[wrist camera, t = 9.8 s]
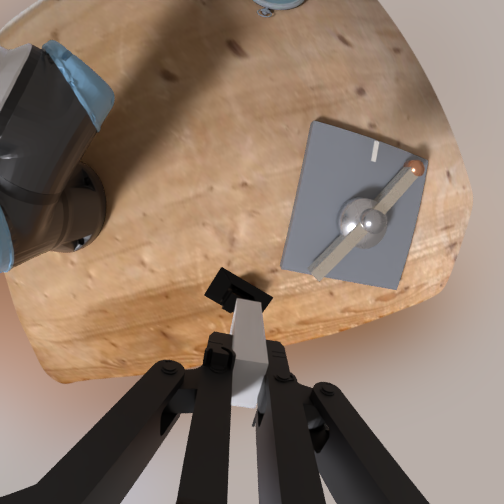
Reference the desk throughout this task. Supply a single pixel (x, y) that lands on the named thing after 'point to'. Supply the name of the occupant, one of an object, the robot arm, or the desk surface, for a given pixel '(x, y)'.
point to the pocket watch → (277, 5)
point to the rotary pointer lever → (365, 220)
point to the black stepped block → (234, 291)
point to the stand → (341, 190)
